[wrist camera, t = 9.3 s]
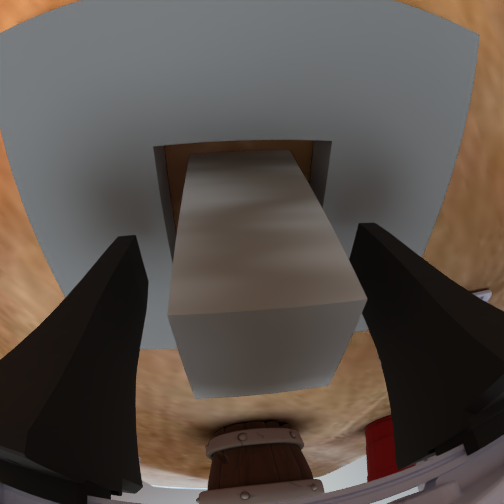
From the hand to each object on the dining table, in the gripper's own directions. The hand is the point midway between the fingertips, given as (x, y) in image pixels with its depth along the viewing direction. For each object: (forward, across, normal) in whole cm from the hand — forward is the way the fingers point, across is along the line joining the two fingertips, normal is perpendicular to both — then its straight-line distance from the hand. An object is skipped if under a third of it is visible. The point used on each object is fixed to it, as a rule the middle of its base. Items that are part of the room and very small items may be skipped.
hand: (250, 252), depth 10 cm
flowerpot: (+4, -1, +33) cm, 33 cm away
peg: (+4, 0, 0) cm, 4 cm away
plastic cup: (+4, -22, +41) cm, 47 cm away
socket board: (+4, 0, 0) cm, 4 cm away
